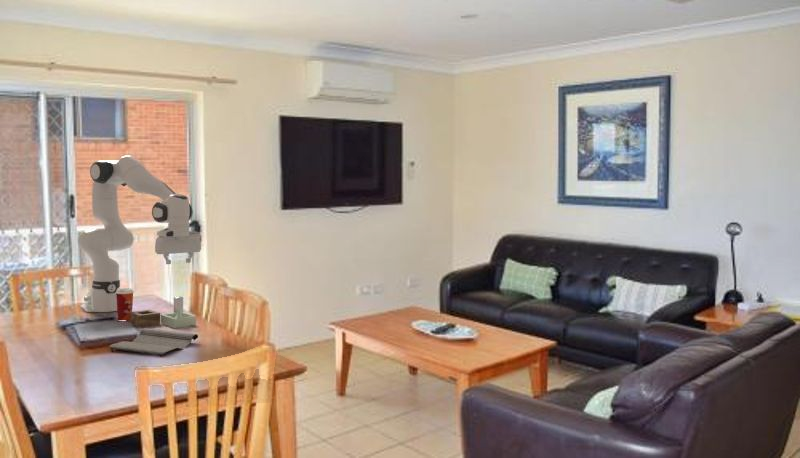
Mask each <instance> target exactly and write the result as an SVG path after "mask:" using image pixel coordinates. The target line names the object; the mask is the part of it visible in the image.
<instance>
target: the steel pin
mask: <svg viewBox="0 0 800 458" xmlns="http://www.w3.org/2000/svg"><path fill="white" fill-rule="evenodd" d="M183 312H184V297H183V296H174V297H173V313H174V318H175V319H176V318H183Z"/></svg>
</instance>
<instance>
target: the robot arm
mask: <svg viewBox="0 0 800 458" xmlns="http://www.w3.org/2000/svg"><path fill="white" fill-rule="evenodd" d="M89 175H90V177H91V179H92V181H93V182H92V192H91V203H92V204H91V207H92V215H93V217H94V218H95V219H96V220H98V221H101V222H102V225H103V226H104V228H91V229H85V230H83V231H81V232H80V234H78V237H77V244H78V247H79V249H81V250H82V251H83V252H84V253H86V254H87V255H88V257H89V258H90V260H91V261H90V262H91V263H92V269H93V271H92V272H93V280H92V282H91V283H92V284H91V289H90V290H89V291H88V293H87V294H86V296H84V297H83V302H85V303H82V304H80V308H81V309H82V310H84V311H85V312H86V313H90V312H91V313H109V312H117V298H116V293H115V292H116V290H117V289H121V288H120V287H121V280H120V266H119V263H118V262H117V261H116V260H114V259H113V258H111V257H109V254H108V252H116V251H117V252H118V251H123V250H126V249H127V250H128V249H129V248H131V247H132V246H133V243H134V240H135V239H134V238H135V237H134V235H133V233H132V231H131V230H130V229H128V228H127V227H126V226H125V224H123V222H122V220H121V217H120V215H119V213H120V212H119V205H118V204H119V202H118V187H119V186H122V187H126V186H127V187H128V188H129V189H130V190H132V191H134V192H135V193H138V194H146V195H149V196H155V197H157V198H158V199H161V201H157V202H155V203H154V204H153V205H152V208H151V215H152V219H154V221H155V222H157V223H159V224H168V225H167V227H166V228H163V229H160V230H158V231H157V232H156V235H157V237H156V239H155V243H154V252H155V254H156V255H163V258H164V260H165V265H171V264H172V260H171V259H169V257H170V254H174V255H175V254H184V253H185V254H187V255H188V256H187V258H185V263H187V264H189V263H190V264H191V262H192V258H193V256H194V253H200V252H201V250H202V243H201V233H200V232H198V231H197V230H196V231H192V230H191V231H190V220H191V219H192V217H193V212H194V211H193V208H192V207H193V206H192V205H191V204H190V202H189V198H188V196H186V195H184V194H177V193H176V192H175V191H174V190H172V189H171V188H170V187H169V186H168V185H167V184H166V183H165V182H163V181H162V180H161V179H159V178H157V177H156V176H155V175H153V174H152V173H151V172H150V171H149V170H148V169H147V168H146V167H145V166H144V165H143V163H141V161H139V160H138V159H137V158H136V157H134V156H132V155H124V156H122V157H120V158H119V159H118V160H115V159H114V160H103V159H102V160H97V161H94V162H93V163H92V164H91V166H90V170H89Z"/></svg>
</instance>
